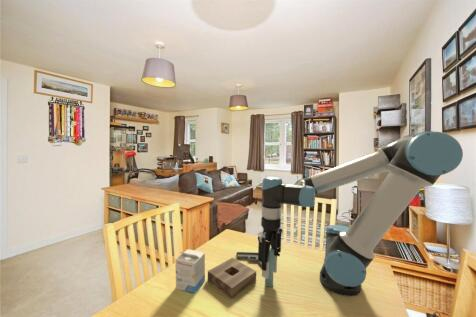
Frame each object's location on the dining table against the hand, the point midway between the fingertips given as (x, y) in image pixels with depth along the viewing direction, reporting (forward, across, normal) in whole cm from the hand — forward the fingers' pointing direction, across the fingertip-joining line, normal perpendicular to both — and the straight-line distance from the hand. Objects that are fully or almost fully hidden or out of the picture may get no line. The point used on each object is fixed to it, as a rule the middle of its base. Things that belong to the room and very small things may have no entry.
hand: (269, 273), depth 81 cm
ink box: (+5, +22, -22) cm, 31 cm away
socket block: (+4, +9, -12) cm, 16 cm away
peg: (+4, 0, 0) cm, 4 cm away
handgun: (+5, -8, -14) cm, 17 cm away
